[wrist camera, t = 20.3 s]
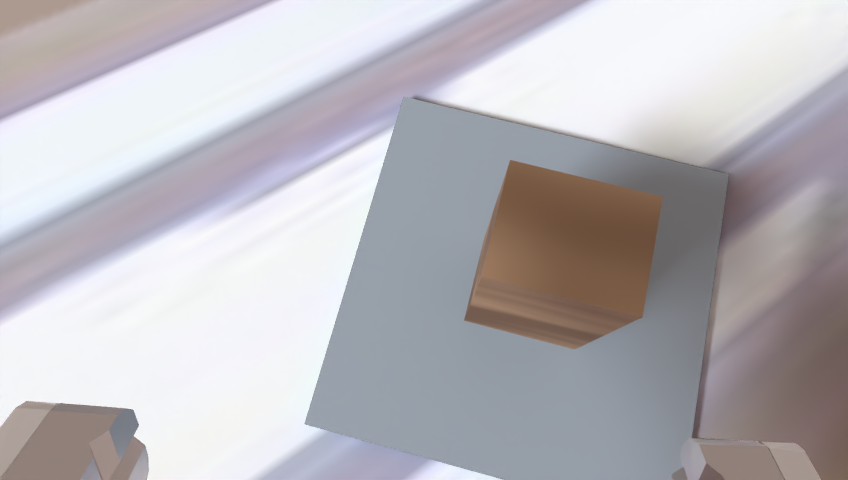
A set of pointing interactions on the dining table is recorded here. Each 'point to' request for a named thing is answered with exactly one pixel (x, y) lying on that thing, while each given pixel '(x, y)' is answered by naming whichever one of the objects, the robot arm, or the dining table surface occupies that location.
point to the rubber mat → (502, 351)
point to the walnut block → (564, 257)
